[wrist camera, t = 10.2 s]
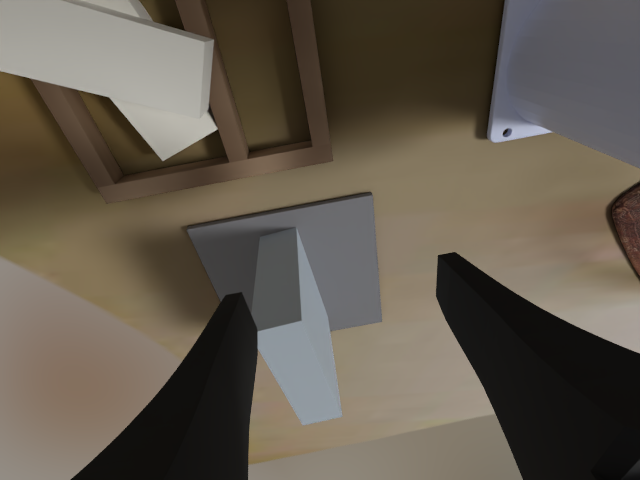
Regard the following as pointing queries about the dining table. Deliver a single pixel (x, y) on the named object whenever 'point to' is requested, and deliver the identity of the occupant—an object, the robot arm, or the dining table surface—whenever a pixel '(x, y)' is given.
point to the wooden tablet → (629, 223)
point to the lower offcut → (153, 124)
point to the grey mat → (320, 247)
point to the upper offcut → (106, 54)
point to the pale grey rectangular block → (294, 328)
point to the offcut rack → (239, 159)
